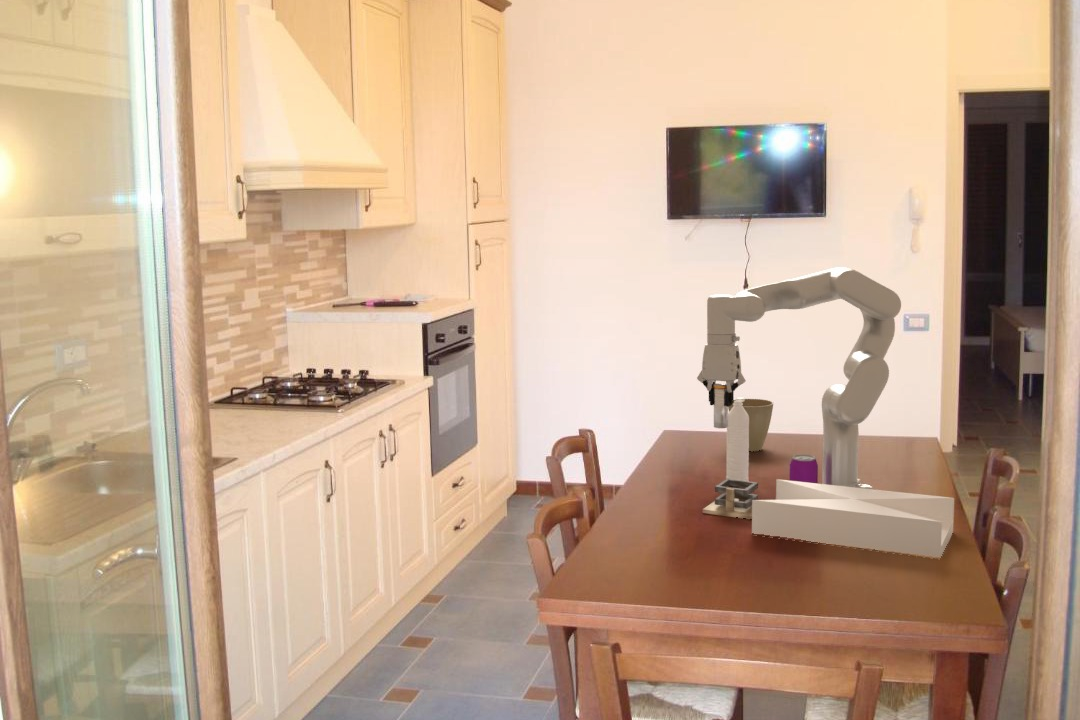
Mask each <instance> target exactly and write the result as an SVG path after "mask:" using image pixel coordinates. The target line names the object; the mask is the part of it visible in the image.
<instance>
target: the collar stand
mask: <svg viewBox="0 0 1080 720" xmlns="http://www.w3.org/2000/svg"><path fill="white" fill-rule="evenodd" d="M730 485H731V486H732V487H729V486H730ZM757 489H759V482H758V481H747V480H742V479H740V480H734V479H726V478H725V479H724V480H722V481H721V482H720V483H718V484H716V485H715V486H714V492H715V493H719V494H720V495H718V496H717V497H716V498H715V499H714V501H712V502H711V503H710V504H709V505H707V506H705V507H704V508H702V513H703V514H707V515H708V514H709V515H715V516H723V517H730V518H736V517H738V518H737V519H743V518H746V519H745V520H750V519H752V500H759V494H753V493H754V492H755V491H756V490H757Z"/></svg>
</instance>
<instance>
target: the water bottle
mask: <svg viewBox="0 0 1080 720" xmlns="http://www.w3.org/2000/svg"><path fill="white" fill-rule="evenodd" d="M745 399H746V398H745V397H741V396H739V397H736V398H735V400H736V401H734V406H733V408H732V409H731V410H730V412H729V411H728V428H726V445H725V447H726V451H725V452H726V458H725V459H726V460H725V462H726V465H725V466H726V471H725V473H726V476H725V480H726V479H734V480H740V479H742V480H747V481H749V472H750V471H749V467H750V465H749V464H750V462H749V460H750V458H749V456H750V452H749V450H748V449H749V416H748V414H747V412H746V411H745V409H744V408H743V406H742V405H743V404H742V402H744V401H745ZM729 486H731V485H729Z"/></svg>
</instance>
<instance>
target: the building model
mask: <svg viewBox="0 0 1080 720" xmlns="http://www.w3.org/2000/svg"><path fill="white" fill-rule="evenodd" d="M775 482H776V483H775V488H776V489H775V499H758V500H752V520H751V534H752V533H754V534H764V535H770V536H780V537H787V538H794V539H801V540H806V541H811V542H818V543H819V542H820V543H826V544H836V545H845V546H853V547H860V548H870V549H875V550H884V551H894V552H901V553H910V554H918V555H925V556H932V557H940V558H941V556H942V557H943V555H944V553H945V551H946V549H945V548H947V547H948V545H949V543H950V540H951V538H952V537H953V534H952V533H954V518H955V517H954V516H955V514H954V513H955V497H948V496H939V495H930V494H923V493H922V494H919V493H913V492H912V493H911V492H902V491H892V490H882V489H874V488H873V489H865V488H855V487H846V486H836V485H827V484H822V483H818V484H817V483H808V482H798V481H789V480H787V479H779V478H776V481H775ZM811 542H810V543H811ZM818 543H817V544H818ZM826 544H825V545H826ZM947 544H948V545H947ZM946 546H947V547H946ZM944 550H945V551H944ZM943 552H944V553H943ZM942 554H943V555H942ZM941 559H942V558H941Z"/></svg>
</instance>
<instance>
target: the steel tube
mask: <svg viewBox="0 0 1080 720" xmlns="http://www.w3.org/2000/svg"><path fill="white" fill-rule="evenodd" d="M713 388H714V405H713V428H715V429H727V428H728V413H729V408H728V407H726V392H727V385H726V382H725V383H724V382H716V383H715V384H713Z"/></svg>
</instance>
